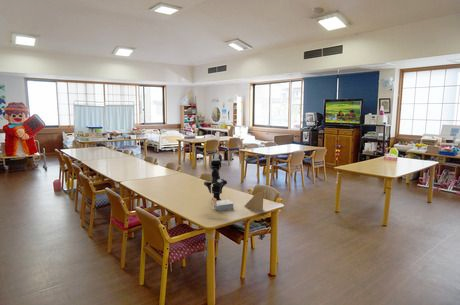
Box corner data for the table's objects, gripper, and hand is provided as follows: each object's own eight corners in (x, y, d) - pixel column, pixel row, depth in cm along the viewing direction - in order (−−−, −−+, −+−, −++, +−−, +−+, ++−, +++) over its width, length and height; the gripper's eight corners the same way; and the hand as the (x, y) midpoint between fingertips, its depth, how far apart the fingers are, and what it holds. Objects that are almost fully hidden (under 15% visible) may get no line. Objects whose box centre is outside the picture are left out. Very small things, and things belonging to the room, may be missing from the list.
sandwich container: (250, 204, 263) (251, 187, 261) (263, 209, 251) (263, 192, 249) (243, 206, 258) (243, 189, 256) (255, 211, 246) (255, 193, 244)
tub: (213, 207, 254) (214, 202, 253) (228, 205, 259) (228, 200, 259) (218, 211, 245) (218, 206, 244) (233, 209, 251) (233, 204, 250)
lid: (211, 202, 252) (211, 197, 252) (228, 200, 259) (228, 195, 258) (216, 206, 243) (216, 200, 242) (233, 203, 250) (233, 198, 249)
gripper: (209, 177, 239) (209, 197, 241) (230, 175, 248) (229, 194, 250) (203, 174, 249) (203, 193, 251) (224, 172, 257) (223, 190, 260)
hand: (215, 192), depth 253 cm, fingers open, 9 cm apart
